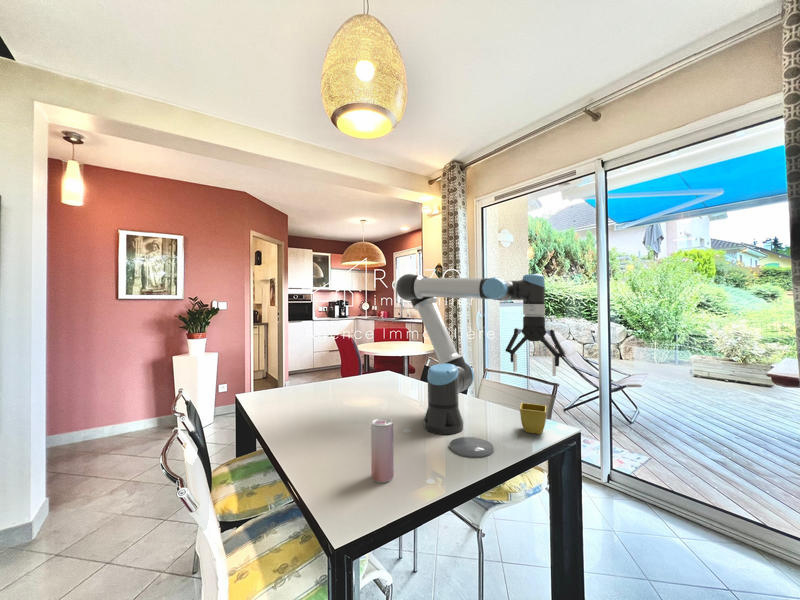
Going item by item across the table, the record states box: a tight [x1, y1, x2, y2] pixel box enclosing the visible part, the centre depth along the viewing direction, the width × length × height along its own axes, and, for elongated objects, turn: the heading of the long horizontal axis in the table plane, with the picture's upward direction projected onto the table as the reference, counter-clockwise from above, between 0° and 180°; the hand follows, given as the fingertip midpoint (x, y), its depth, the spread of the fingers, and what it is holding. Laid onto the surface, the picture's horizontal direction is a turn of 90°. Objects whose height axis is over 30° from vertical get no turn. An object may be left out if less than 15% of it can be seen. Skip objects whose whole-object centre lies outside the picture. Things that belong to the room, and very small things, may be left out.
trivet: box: [449, 436, 495, 459], centre depth 105 cm, size 14×14×1 cm
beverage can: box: [370, 417, 395, 484], centre depth 87 cm, size 6×6×15 cm
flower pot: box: [519, 402, 547, 435], centre depth 119 cm, size 9×9×9 cm
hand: (534, 373), depth 119 cm, fingers open, 13 cm apart
